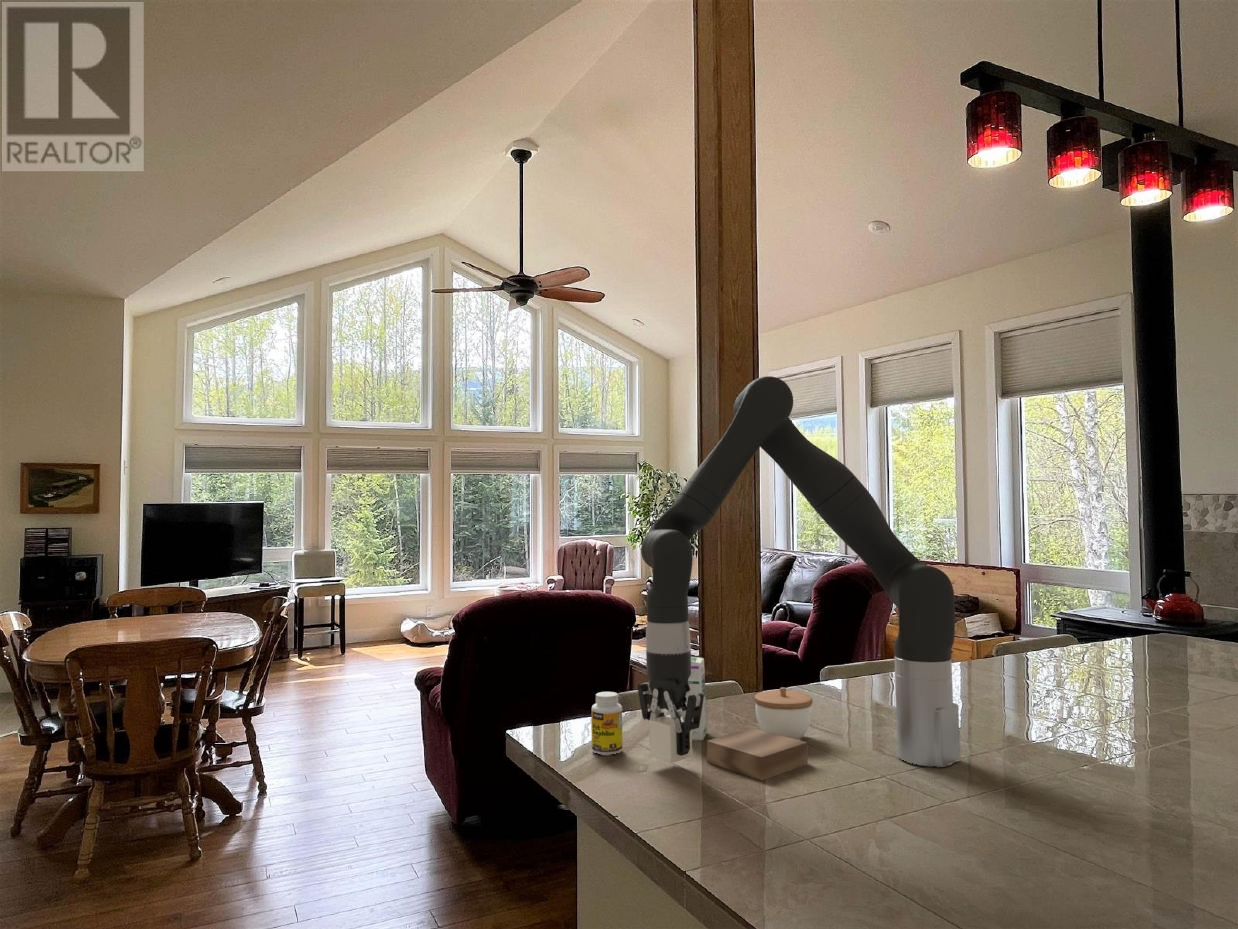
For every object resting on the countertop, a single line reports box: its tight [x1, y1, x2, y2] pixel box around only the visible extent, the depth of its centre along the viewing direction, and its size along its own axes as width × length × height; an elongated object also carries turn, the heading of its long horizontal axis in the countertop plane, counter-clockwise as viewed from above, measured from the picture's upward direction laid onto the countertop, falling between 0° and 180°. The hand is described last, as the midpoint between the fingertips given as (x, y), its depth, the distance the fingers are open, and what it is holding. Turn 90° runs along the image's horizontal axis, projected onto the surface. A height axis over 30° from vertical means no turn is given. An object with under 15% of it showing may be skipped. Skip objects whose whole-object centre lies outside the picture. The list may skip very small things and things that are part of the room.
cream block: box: [648, 714, 693, 764], centre depth 132 cm, size 5×5×6 cm
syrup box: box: [677, 656, 708, 741], centre depth 151 cm, size 6×6×14 cm
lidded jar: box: [754, 686, 813, 741], centre depth 148 cm, size 11×11×9 cm
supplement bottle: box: [590, 691, 623, 756], centre depth 141 cm, size 6×6×10 cm
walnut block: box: [706, 727, 809, 781], centre depth 134 cm, size 12×12×4 cm
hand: (670, 750), depth 132 cm, fingers closed on cream block, 5 cm apart
